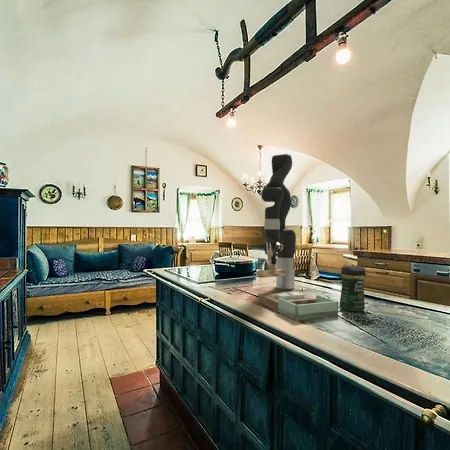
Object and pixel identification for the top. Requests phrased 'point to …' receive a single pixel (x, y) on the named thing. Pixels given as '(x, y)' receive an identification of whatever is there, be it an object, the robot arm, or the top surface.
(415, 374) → the top surface
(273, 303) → the walnut plate
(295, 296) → the cream tile
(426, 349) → the top surface
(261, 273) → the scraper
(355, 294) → the coffee jar
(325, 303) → the box
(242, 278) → the top surface
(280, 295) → the grey tile
